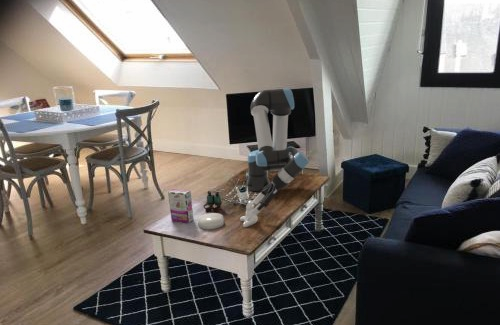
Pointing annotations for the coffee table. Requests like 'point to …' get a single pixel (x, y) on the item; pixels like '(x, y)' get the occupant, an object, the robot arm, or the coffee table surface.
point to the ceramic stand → (210, 221)
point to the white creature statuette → (249, 215)
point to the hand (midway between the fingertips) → (253, 208)
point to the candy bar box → (180, 205)
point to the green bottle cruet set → (213, 202)
